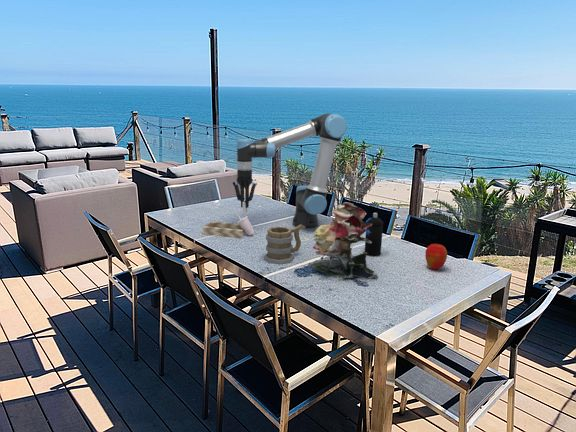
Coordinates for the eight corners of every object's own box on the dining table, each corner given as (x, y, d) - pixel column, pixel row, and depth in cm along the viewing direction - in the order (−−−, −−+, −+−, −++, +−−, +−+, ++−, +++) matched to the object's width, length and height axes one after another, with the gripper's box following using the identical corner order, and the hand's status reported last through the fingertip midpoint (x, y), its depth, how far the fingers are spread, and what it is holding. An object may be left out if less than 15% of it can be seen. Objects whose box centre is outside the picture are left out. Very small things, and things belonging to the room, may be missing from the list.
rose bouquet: (352, 255, 208) (355, 193, 200) (384, 278, 181) (390, 208, 173) (301, 260, 200) (303, 196, 192) (327, 286, 173) (330, 213, 165)
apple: (442, 274, 187) (445, 247, 184) (421, 269, 191) (424, 243, 188) (447, 267, 194) (450, 241, 191) (427, 263, 199) (429, 238, 196)
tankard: (272, 265, 193) (273, 233, 189) (261, 256, 204) (261, 225, 200) (311, 258, 202) (312, 227, 198) (298, 250, 213) (299, 220, 209)
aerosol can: (382, 251, 213) (385, 212, 207) (380, 257, 205) (383, 216, 200) (365, 249, 215) (368, 210, 210) (362, 255, 208) (365, 214, 203)
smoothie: (247, 235, 237) (232, 214, 235) (257, 229, 237) (242, 208, 235) (246, 238, 231) (231, 216, 229) (256, 231, 230) (241, 209, 228)
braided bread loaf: (249, 231, 240) (249, 224, 239) (241, 238, 229) (241, 231, 228) (212, 228, 246) (212, 221, 245) (203, 234, 235) (202, 227, 234)
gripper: (230, 169, 224) (230, 214, 230) (254, 171, 220) (254, 216, 227) (235, 167, 231) (236, 210, 237) (258, 168, 227) (258, 212, 234)
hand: (244, 213), depth 232 cm, fingers closed
